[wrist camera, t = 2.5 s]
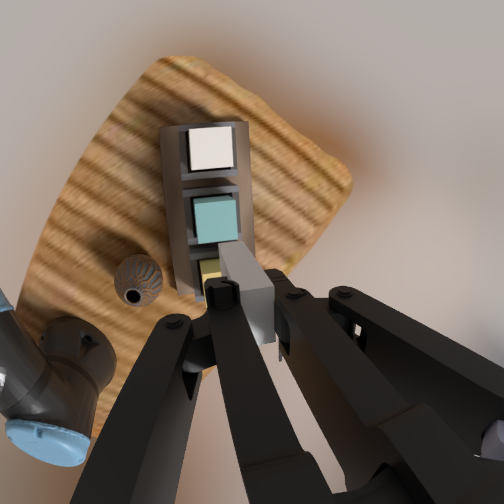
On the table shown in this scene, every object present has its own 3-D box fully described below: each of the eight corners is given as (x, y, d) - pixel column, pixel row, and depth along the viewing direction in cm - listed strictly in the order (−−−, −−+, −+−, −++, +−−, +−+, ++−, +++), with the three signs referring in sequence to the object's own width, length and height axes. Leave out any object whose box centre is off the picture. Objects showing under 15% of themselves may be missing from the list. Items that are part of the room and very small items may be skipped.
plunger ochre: (203, 290, 37) (206, 308, 33) (199, 260, 36) (202, 274, 31) (235, 286, 38) (242, 302, 34) (232, 255, 37) (240, 269, 32)
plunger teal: (196, 233, 35) (198, 243, 30) (193, 198, 33) (194, 203, 29) (230, 229, 36) (238, 239, 31) (228, 195, 34) (235, 199, 30)
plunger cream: (190, 169, 32) (191, 170, 28) (188, 134, 31) (189, 129, 26) (226, 166, 33) (233, 166, 28) (224, 132, 32) (231, 126, 27)
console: (178, 291, 41) (178, 308, 36) (160, 129, 34) (156, 123, 29) (254, 280, 44) (263, 296, 39) (245, 122, 36) (255, 116, 31)
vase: (125, 242, 37) (111, 262, 29) (169, 256, 40) (166, 279, 31) (116, 284, 39) (102, 312, 31) (158, 296, 41) (153, 327, 33)
